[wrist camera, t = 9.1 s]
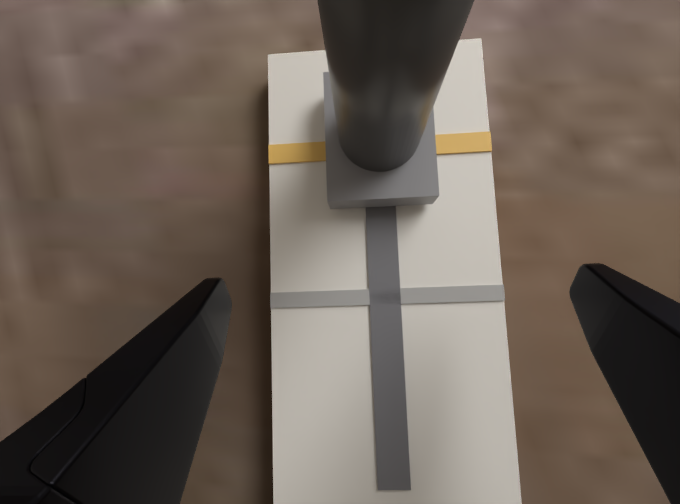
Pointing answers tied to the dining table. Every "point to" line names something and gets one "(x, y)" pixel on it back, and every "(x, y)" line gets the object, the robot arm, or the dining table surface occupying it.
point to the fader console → (387, 313)
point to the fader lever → (385, 97)
